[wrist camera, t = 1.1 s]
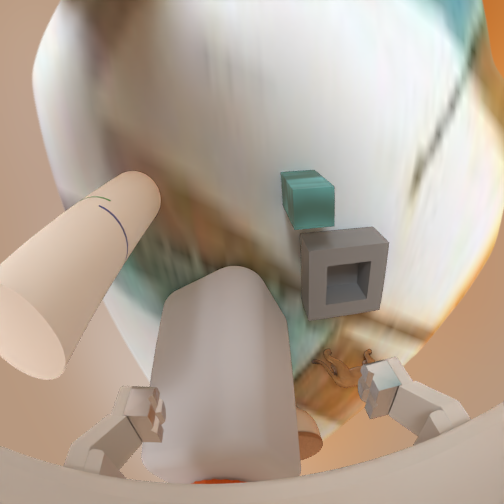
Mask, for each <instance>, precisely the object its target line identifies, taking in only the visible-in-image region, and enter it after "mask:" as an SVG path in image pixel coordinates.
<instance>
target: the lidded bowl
mask: <svg viewBox="0 0 504 504" xmlns="http://www.w3.org/2000/svg"><path fill="white" fill-rule="evenodd" d="M296 415H297V427H298V438H299V450H300V460H303V459H306V458H309V457H311V456H312V455H315V454H316V453H317V452H319V450H321V448H322V446H323V442H322V439H321V437H320V433H319V429H318V427H317V424H316V422H315V421H314V419H313V418H312V417H311V416H310V415H309V414H308V413H307V412H305V411H303V410H301V409H300V408H298V407H296Z"/></svg>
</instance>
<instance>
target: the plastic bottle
mask: <svg viewBox="0 0 504 504" xmlns="http://www.w3.org/2000/svg"><path fill="white" fill-rule="evenodd" d="M150 387H157V388H158V390H159V392H160V396H159V398H160V399H162V400H163V402H164V404H165V408H166V419H165V422H164V423H163V424H162V427H163V429H164V432H163V438H162V443H158V442H143V444H142V455H141V456H142V457H141V458H142V462H143V465H144V466H145V467H146V469H147V470H148V471H149V472H151V473H152V474H154V475H156V476H157V477H159V478H161V479H163V480H164V481H166V482H168V483H179V484H227V483H245V482H257V481H267V480H276V479H283V478H290V477H297V476H300V473H301V463H300V450H299V438H298V427H297V415H296V405H295V394H294V384H293V374H292V364H291V354H290V345H289V336H288V327H287V321H286V318H285V316H284V314H283V313H282V311H281V309H280V308H279V306H278V305H277V303H276V301H275V300H274V298H273V296H272V295H271V293H270V291H269V290H268V288H267V286H266V285H265V283H264V281H263V280H262V278H261V277H260V276H259V275H258V274H257V273H255V272H254V271H252V270H250V269H248V268H245V267H241V266H228V267H224V268H221V269H219V270H217V271H215V272H213V273H211V274H209V275H207V276H205V277H203V278H201V279H199V280H197V281H195V282H193V283H190V284H188V285H186V286H184V287H182V288H180V289H178V290H176V291H174V292H173V293H172V294H170V295H169V297H168V298H167V299H166V301H165V303H164V307H163V312H162V317H161V322H160V327H159V333H158V338H157V344H156V350H155V356H154V362H153V368H152V374H151V381H150Z"/></svg>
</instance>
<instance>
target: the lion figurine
mask: <svg viewBox="0 0 504 504" xmlns="http://www.w3.org/2000/svg"><path fill="white" fill-rule="evenodd" d="M331 353H332V352H331V350H330V349H326V350H325V351H324V356H325V358H326V359H327V361H329V362H331V363H332V365H331V368H332V369H333V371H334V374H333V372H332V371H331V370H330V369H329V367H328V366H327V365H326V364H325V363H324V362H322V361H320V360H316V359H315V360H313V361H312V363H315V364H321V365H323V366H324V368H325V369H326V370H327V372H328V373H329V375H330V376H331V377H332V378H333V380H334V381H335V383H336V384H337V385H338V386H340V387H343V388H348V387H353V386H358V380H359V378H360V377H361V376H362V374H361V372H360V371H361V367H362V366H359V367H353V368H351V369H348V367H347V366H346V365H345V364H344V363H343V362H342V361H340V360H338V359H336V358H334V357H332V356H330V354H331ZM371 353H372V352H371V350H370V349H368V350H367V351H365V353H364V356H365V358H366V360H364V361H363V362H362V365H364V364H368V363H372V362H375V361H374V360H373V359H372V358H371V357H370V354H371Z"/></svg>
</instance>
